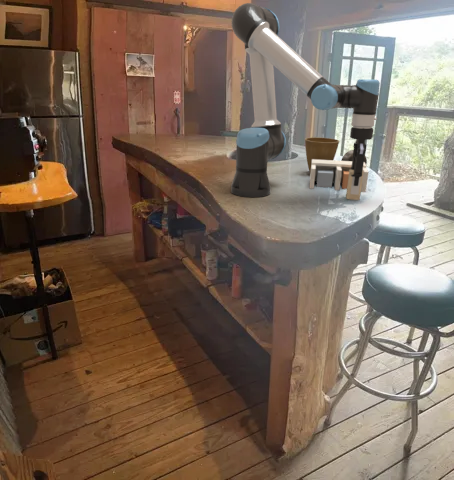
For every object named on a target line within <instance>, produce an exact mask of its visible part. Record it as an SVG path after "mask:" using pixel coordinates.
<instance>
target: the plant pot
mask: <svg viewBox="0 0 454 480" xmlns="http://www.w3.org/2000/svg"><path fill="white" fill-rule="evenodd" d="M304 141H305V145H304V146H305V154H306V156H305V157H306V162H307V167H308V171H309V172H308V173H309V174H310V173H311V163H312V159H317V160H334V159H335V157H336V155H337V152H338V147H339V145H340V144H339V143H340V140H339V139H335V138H330V137H316V136H315V137H313V136H312V137H306V138H304Z"/></svg>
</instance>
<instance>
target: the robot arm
mask: <svg viewBox="0 0 454 480" xmlns="http://www.w3.org/2000/svg"><path fill="white" fill-rule="evenodd" d="M279 21H280V20H279V19H278V16H277V14H276V13H274V12H273V11H272V10H271V9H270V8H266V7H264V6H260V5H257V4H255V3H251V2H247V3H243V4H241V5H240V6H237V8H236V9H235V11H234V12H233V14H232V17H231V29H232V32H233V33H234V35H235V36H236V37H237V38H238V39H239V40H240V41H241V42H242V43H244V44H243V45H244V51H245V52H246V53H247V54H248V55H249V65H250V79H251V89H252V92H251V93H252V105H253V116H254V122H253V123H252V124H251V125H250V126H251V127H249V128H248V127H247V128H243V129H240V130H239V131H238V132H237V135H236V139H235V143H236V144H235V145H236V154H235V155H236V156H235V157H236V158H235V160H236V161H235V173H234V176H233V179H232V182H231V185H230V193H231V194H232V195H235V196H239V197H244V198H260V197H261V198H262V197H266V196H268V195H270V194H271V184H270V181H269V177H268V161H269V160H273V159H277V157H279V156H280V155H281V154H282V153H283V152H284V150H285V149H286V145H287V139H286V135H285V133H284V132H283V130H282V123H281V122H280V120H278V118H277V101H276V87H275V70H274V67H275V68H276V69H277V70H278V71H279V72H280V73H281V74H282V75H283V76H285V77H286V78H287V79H288V80H289V81H290V82H291V83H292V84H293V85H294V86H295V87H297V89H299V90H300V91H301V92H302V93H303V94H304V95H305V96H306V97H308V99H309V100H310V101H311V104H312V106H313V107H314V108H315V109H317V110H320V111H328V110H332V109H353V110H352V117H351V126H352V127H351V128H350V135H349V138H351V139H353V140H355V142H353V149H352V150H353V159H352V167H351V170H354V174H353V175H351V177H352V185H351V192H350V194H357V195H358V193H359V186H360V179H361V176H362V171H363V164H364V157H365V156H366V151H367V144H366V140H368V141H369V140H372V139H373V136H374V128H373V127H374V126H375V121H377V120H378V117H376V114H377V107H378V103H379V96H380V84H381V83H380V81H379V79H365V78H364V79H363V78H362V79H357V80H356V83H355V84H351V85H349V84H347V85H346V84H345V85H344V84H332V83H331V82H329V80H328V79H326V78H325V77H324V76H323V75H322V74H321V73H319V72H318V71H317V70H316V69H315V68H314V67H313V66H312V65H311V64H309V62H307V61H306V60H305V59H304V58H303V57H302V56H301V55H300V54H298V52H296V51H295V49H293V48H292V47H291V46H289V45H288V44H287V43H286V42H285V41H284V40H283V39H282V38H281V37H279V34H280V29H281V28H280V22H279Z"/></svg>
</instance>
